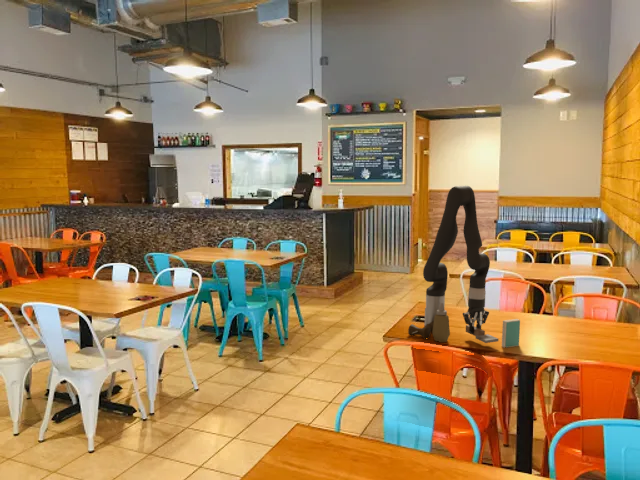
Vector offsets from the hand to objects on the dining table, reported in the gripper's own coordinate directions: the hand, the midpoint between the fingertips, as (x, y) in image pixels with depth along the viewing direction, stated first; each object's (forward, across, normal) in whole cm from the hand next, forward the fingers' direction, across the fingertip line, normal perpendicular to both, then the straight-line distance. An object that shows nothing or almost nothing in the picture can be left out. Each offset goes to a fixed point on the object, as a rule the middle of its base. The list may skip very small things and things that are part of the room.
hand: (474, 332), depth 251 cm
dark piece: (+1, 0, +3) cm, 4 cm away
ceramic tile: (+4, -11, +12) cm, 16 cm away
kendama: (+5, +17, -17) cm, 25 cm away
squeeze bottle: (+5, +14, -6) cm, 16 cm away
